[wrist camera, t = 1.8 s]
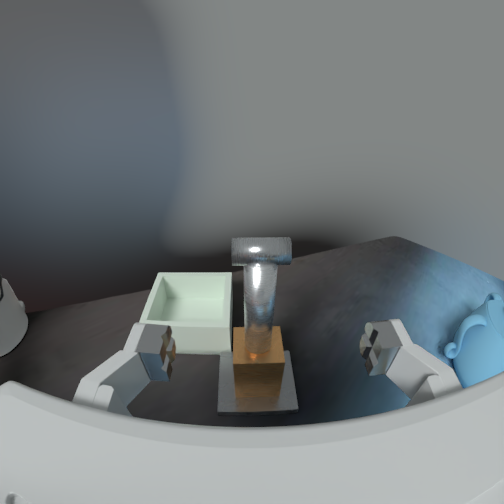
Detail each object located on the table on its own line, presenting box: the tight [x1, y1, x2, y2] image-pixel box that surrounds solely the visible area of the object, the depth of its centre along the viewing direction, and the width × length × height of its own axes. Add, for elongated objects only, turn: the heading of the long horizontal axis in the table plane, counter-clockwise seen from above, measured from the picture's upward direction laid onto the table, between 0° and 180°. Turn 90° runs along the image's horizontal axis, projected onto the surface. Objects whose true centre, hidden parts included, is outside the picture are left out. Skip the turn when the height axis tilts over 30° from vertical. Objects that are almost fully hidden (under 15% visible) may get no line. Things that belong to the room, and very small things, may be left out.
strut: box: [232, 237, 292, 397], centre depth 29 cm, size 6×6×21 cm
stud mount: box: [218, 351, 298, 416], centre depth 33 cm, size 10×10×8 cm
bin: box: [139, 273, 233, 355], centre depth 44 cm, size 13×13×6 cm
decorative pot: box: [444, 293, 504, 388], centre depth 29 cm, size 16×16×14 cm
